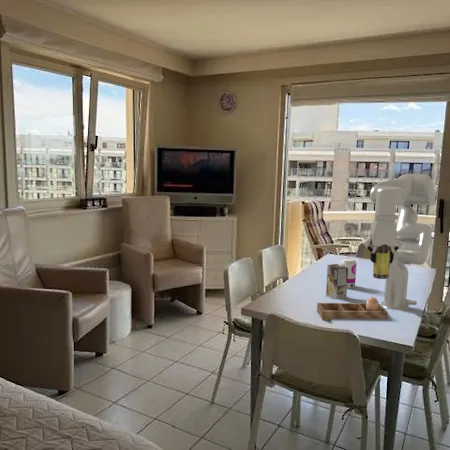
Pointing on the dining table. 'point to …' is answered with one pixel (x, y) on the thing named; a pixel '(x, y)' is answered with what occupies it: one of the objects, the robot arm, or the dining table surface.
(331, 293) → the coffee box
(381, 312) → the caddy
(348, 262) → the supplement can
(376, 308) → the brown egg
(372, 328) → the dining table surface
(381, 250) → the sauce bottle
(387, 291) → the robot arm
